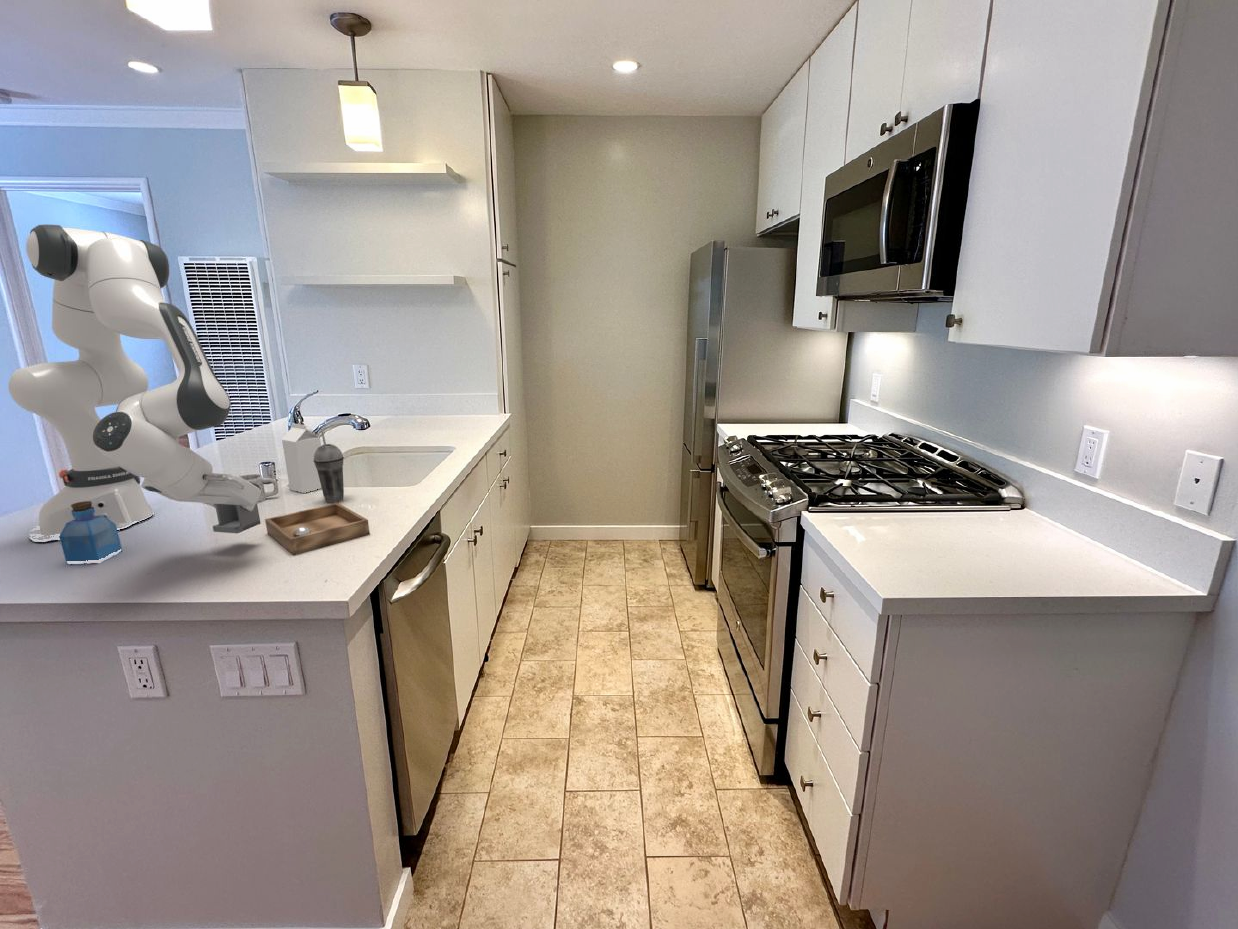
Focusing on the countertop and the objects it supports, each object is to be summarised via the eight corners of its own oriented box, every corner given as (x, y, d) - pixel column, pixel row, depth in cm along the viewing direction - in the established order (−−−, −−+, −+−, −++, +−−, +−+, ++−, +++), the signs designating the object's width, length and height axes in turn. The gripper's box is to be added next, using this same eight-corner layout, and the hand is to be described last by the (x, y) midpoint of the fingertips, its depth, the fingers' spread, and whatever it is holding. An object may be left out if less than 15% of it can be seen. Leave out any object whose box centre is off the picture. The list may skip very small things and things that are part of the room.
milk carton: (303, 494, 161) (293, 427, 157) (289, 490, 165) (279, 425, 160) (327, 487, 167) (318, 423, 162) (313, 484, 171) (304, 421, 166)
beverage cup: (354, 496, 158) (345, 425, 153) (339, 505, 151) (329, 430, 146) (329, 496, 159) (319, 425, 154) (313, 504, 152) (302, 430, 147)
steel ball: (311, 527, 123) (316, 529, 127) (294, 523, 123) (299, 525, 126) (305, 543, 122) (310, 545, 126) (288, 539, 122) (293, 541, 125)
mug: (235, 506, 152) (230, 482, 150) (239, 499, 157) (235, 476, 156) (278, 501, 155) (274, 477, 154) (281, 494, 161) (277, 471, 160)
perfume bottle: (91, 553, 122) (77, 499, 119) (122, 551, 123) (109, 498, 120) (67, 565, 116) (51, 509, 113) (99, 563, 117) (85, 508, 114)
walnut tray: (293, 555, 120) (290, 539, 119) (267, 533, 132) (264, 519, 131) (369, 534, 131) (367, 519, 130) (339, 516, 143) (337, 502, 142)
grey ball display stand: (237, 533, 119) (230, 496, 117) (213, 531, 121) (206, 495, 119) (260, 523, 125) (254, 488, 123) (237, 521, 126) (230, 487, 124)
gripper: (237, 462, 110) (284, 496, 122) (151, 459, 114) (204, 491, 126) (221, 491, 107) (271, 523, 119) (133, 486, 111) (190, 517, 123)
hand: (236, 506), depth 122 cm, fingers closed on grey ball display stand, 6 cm apart
